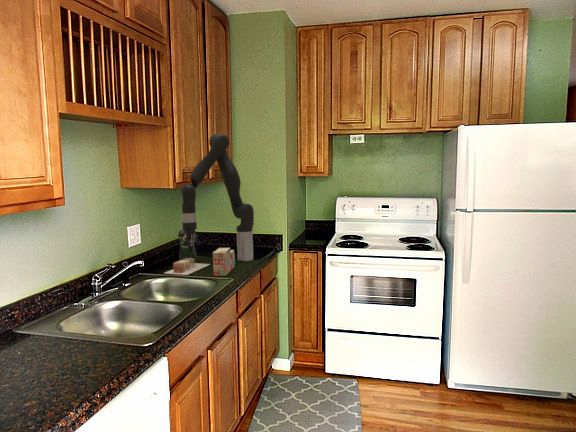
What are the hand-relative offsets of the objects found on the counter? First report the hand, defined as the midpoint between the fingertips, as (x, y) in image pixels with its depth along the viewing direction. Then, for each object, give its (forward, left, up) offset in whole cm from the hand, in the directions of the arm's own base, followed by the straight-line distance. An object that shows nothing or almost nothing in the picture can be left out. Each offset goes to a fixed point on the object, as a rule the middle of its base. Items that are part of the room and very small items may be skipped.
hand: (190, 252), depth 236 cm
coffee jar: (-15, -12, -9) cm, 21 cm away
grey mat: (+4, 0, -9) cm, 9 cm away
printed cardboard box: (0, +21, -9) cm, 22 cm away
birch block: (+1, 0, -5) cm, 6 cm away
